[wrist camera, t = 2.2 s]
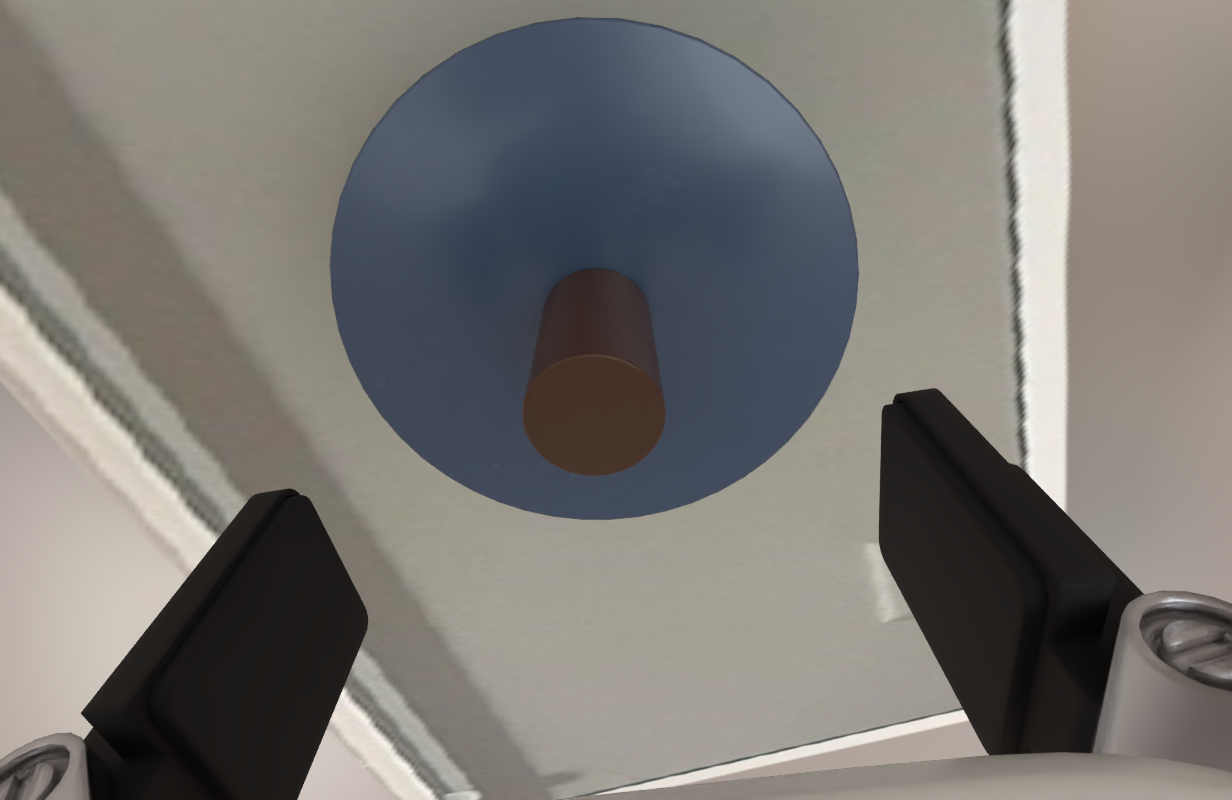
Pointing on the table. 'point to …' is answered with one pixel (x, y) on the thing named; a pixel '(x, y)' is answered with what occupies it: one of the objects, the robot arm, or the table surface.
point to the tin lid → (594, 268)
